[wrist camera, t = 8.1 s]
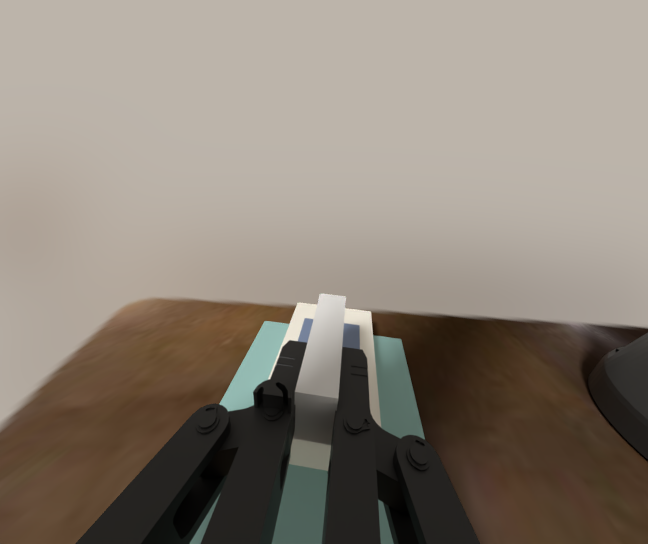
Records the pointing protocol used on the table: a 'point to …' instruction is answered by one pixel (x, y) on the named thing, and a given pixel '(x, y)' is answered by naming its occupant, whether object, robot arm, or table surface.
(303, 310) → the card box
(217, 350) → the table surface
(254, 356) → the mat
